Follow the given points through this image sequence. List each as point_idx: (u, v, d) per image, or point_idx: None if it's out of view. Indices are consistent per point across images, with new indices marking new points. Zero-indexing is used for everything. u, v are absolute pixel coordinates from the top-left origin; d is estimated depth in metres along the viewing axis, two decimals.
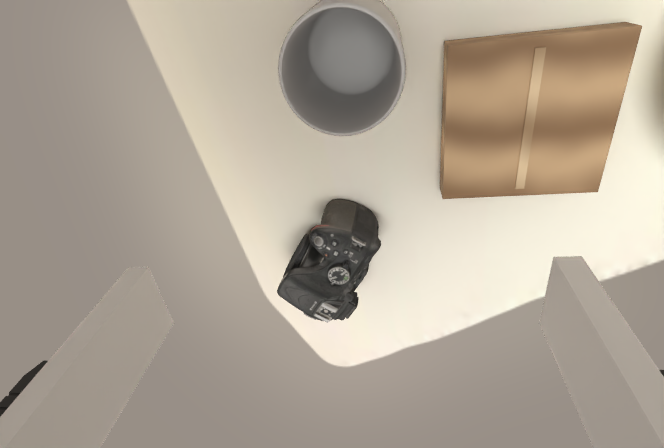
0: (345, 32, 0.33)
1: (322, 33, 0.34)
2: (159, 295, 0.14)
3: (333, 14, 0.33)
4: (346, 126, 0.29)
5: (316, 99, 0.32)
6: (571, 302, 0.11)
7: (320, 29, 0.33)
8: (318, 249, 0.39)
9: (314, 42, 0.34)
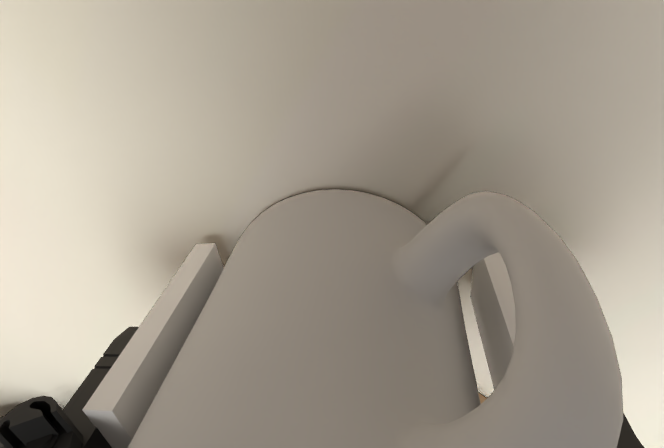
0: None
1: None
2: None
3: None
4: None
5: None
6: (484, 272, 0.12)
7: None
8: None
9: None
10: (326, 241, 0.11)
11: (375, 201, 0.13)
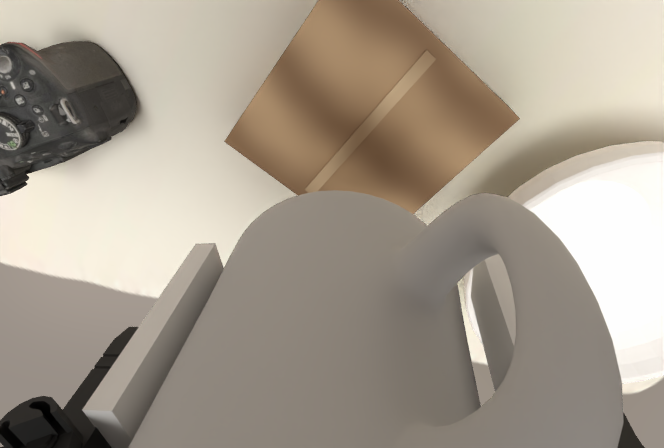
0: None
1: None
2: None
3: None
4: None
5: None
6: (484, 272, 0.12)
7: None
8: None
9: None
10: (326, 242, 0.11)
11: (375, 202, 0.13)
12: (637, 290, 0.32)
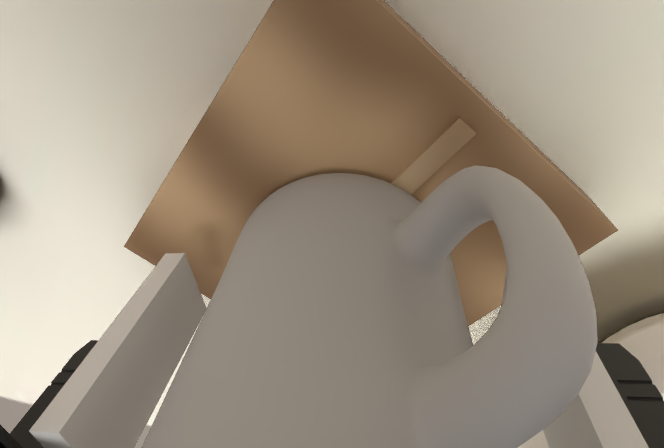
0: None
1: None
2: (194, 281, 0.15)
3: None
4: None
5: None
6: None
7: None
8: None
9: None
10: (332, 218, 0.12)
11: (374, 182, 0.14)
12: None
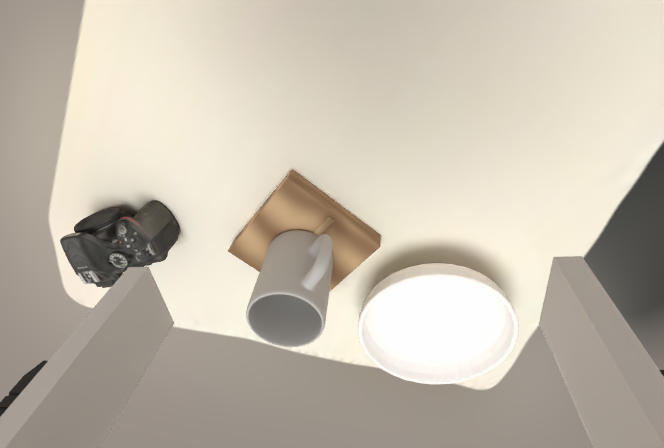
0: None
1: None
2: (159, 295, 0.14)
3: None
4: (268, 332, 0.45)
5: None
6: (571, 302, 0.11)
7: None
8: (117, 234, 0.47)
9: None
10: (293, 244, 0.46)
11: (307, 233, 0.48)
12: (464, 329, 0.56)
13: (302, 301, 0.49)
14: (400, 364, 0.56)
